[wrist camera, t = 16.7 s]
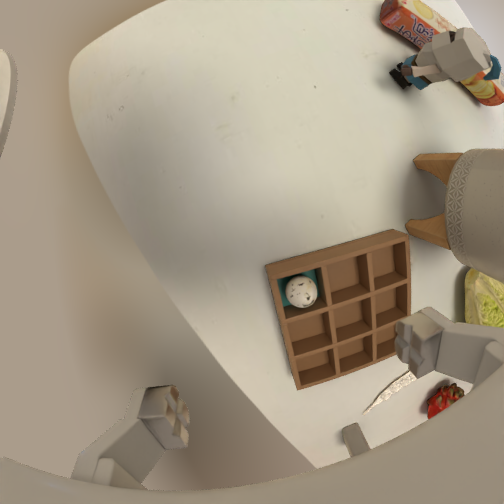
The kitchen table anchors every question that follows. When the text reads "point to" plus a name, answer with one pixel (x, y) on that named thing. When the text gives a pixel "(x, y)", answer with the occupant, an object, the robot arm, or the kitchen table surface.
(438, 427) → the robot arm
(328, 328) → the compartment tray
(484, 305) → the lettuce
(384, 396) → the cream curved tapered piece
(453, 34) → the toy
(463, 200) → the planter
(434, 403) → the dragon fruit
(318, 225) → the kitchen table surface
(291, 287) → the egg
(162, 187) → the kitchen table surface
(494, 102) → the snack package
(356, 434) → the grey skyscraper model
